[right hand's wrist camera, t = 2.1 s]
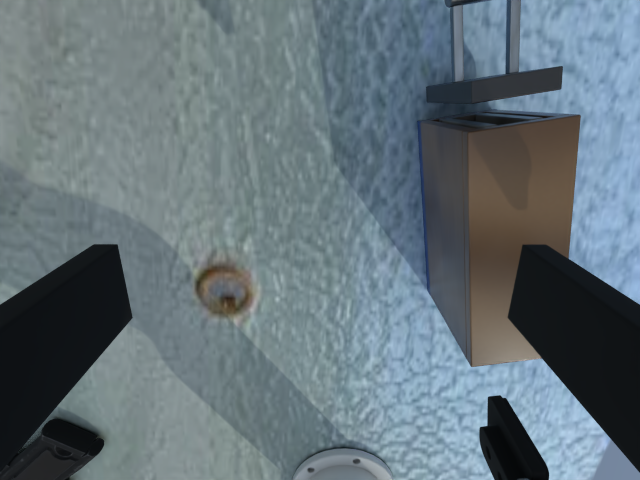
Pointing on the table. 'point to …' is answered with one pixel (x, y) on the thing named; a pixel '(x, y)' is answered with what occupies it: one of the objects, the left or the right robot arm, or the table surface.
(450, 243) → the tall brown box
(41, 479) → the handgun
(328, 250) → the table surface
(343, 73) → the table surface
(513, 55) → the drawer
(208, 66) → the table surface
